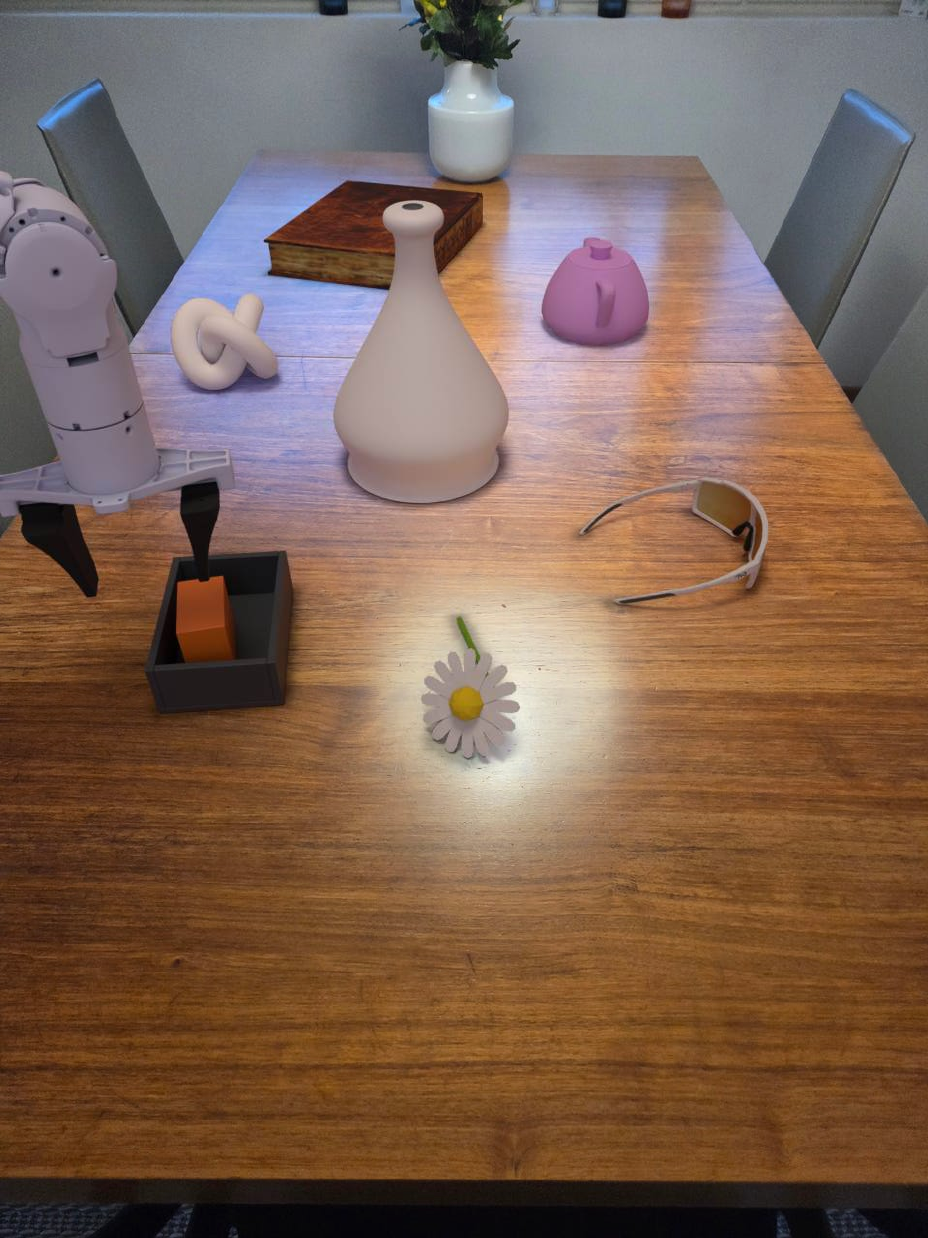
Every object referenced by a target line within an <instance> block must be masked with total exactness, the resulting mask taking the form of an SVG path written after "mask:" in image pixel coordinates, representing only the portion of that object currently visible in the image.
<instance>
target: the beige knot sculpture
mask: <svg viewBox="0 0 928 1238" xmlns="http://www.w3.org/2000/svg"><path fill="white" fill-rule="evenodd" d="M264 309H265V306H264V301H263V300H262V299H261V297H260V296H259V295H257V294H255V293H252V292H250V293H244V294H243V295H242V296H241V297H240V298H239V300H238V302H237V305H236V308H235V310H234V312H232V311H230V310H229V308H227V307H226V306H224V305H223V304H222V303H220V302H218V301H216V300H214V299H213V298H212V299H211V298H208V297H194V298H192V299H189V300H187V301H186V302H184V303H183V304H181V305H180V306H179V307H178V308H177V310H176V311H175V314H174V316H173V318H172V321H171V326H170V345H171V349H172V353H173V355H174V360H175V362H176V363H177V366H178V367H179V369H180V370H181V372H182V373H183V374H184V376H185V377H186V378H187V379H188V380H189V381H191V382H192V383H193V384H194V385H196V386H198V387H200V388H201V389H205V390H209V391H219V390H224V389H227V388H229V387H231V386H232V385H234V384H235V383H236V382H237V381H238V380H239V379H240V378H241V376H242V374H243V373H244V371H245V368H247V369H248V370H249V371H250V372H251V373H252V374H254V376H256V377H259V378H261V379H264V380H267V379H272V377H274V376H275V375H276V374H277V373H278V370H279V361H278V358H277V356H276V354H275V353H274V351H273V350H272V349H271V348H270V347H269V345H268V344H267V343H265V341H264V340H262V339H261V337H259V336H258V335H257V332H258V329H259V326H260V323H261V320H262V316H263V313H264Z"/></svg>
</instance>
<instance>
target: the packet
mask: <svg viewBox="0 0 928 1238" xmlns="http://www.w3.org/2000/svg"><path fill="white" fill-rule="evenodd" d="M176 635H177V638H178V641H179V644H180V648H181V651H182V654H183V657H184V660H185V663H196V662H211V661H226V660H236V640H235V621H234V617H233V613H232V609H231V605H230V601H229V597H228V593H227V589H226V585H225V581H224V577H223V576H218V577H211V578H210V580H209V581H205V582H199V579H196V580H189V581H182V582H178V584H177V617H176Z"/></svg>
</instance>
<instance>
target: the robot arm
mask: <svg viewBox="0 0 928 1238" xmlns="http://www.w3.org/2000/svg"><path fill="white" fill-rule="evenodd" d="M117 285H118V269H117V263H116V261H115V260H114V259H112V258H111V257H110V255H109V252H108V249H107V247H106V245H105V243H104V241H103V240H102V238H101V237H100V236H99V234H98V233H97V231H96V230H95V228H94V227H93V226H92V224H91V223H90V222H89V220H88V219H87V217H86V215H85V214H84V213H83V211H82V210H81V208H79V207H78V205H77V204H76V203H75V202H73V200H71V199H70V198H68V197H67V196H66V195H64V194H63V193H61V192H60V191H58V190H56V189H54V188H52V187H49V186H47V185H45V183H43V182H42V181H41V180H40V179H37V178H34V177H20V178H14V179H13V177H12V175H11V174H10V173H8V172H6V171H3V170H0V297H1V299H2V300H3V302H4V303H5V304H6V305H7V306H8V307H9V309H11V311H12V314H13V316H14V318H15V322H16V325H17V327H18V330H19V343H18V344H19V350H20V353H21V355H22V358H23V361H24V364H25V366H26V369H27V372H28V375H29V377H30V381H31V382H32V385H33V388H34V392H35V395H36V396H37V397H36V398H37V399H38V400H37V401H38V402H39V405H40V408H41V410H42V413H43V416H44V420H45V422H46V425H47V428H48V430H49V433H50V437H51V438H52V441H53V445H54V447H55V449H56V452H57V455H58V458H59V460H58V461H53V462H50V463H47V464H43V465H39V466H36V467H32V468H29V469H25V470H21V471H16V472H12V473H5V474H0V515H1V517H2V518H7V517H14V516H18V515H20V519H21V521H22V524H21V526H20V533H21V535H22V536H23V538H24V540H25V541H26V542H27V543H28V544H30V545H32V546H33V547H35V548H37V549H38V550H40V551H41V552H42V553H44V554H46V555H47V556H48V557H50V559H52V560H53V561H54V562H55V563H57V565H59V566H60V567H61V568H62V569H63V570H64V571H65V572H66V574H67V575H68V576H69V577H70V578H71V579H72V581H74V582H75V584H76V585H77V586H78V588H79V589H80V590H81V591H82V593H83V594H84V596H85V598H87V599H89V598H95V597H97V594H98V588H99V581H100V578H99V574H98V570H97V566H96V564H95V561H94V559H93V557H92V554H91V552H90V550H89V547H88V545H87V542H86V540H85V538H84V535H83V532H82V529H81V525H80V521H79V518H78V517H79V516H78V514H77V510H76V507H75V506H87V507H93V509H94V512H95V513H96V514H98V515H107V514H117V513H122V512H127V511H128V510H129V509H130V508H131V504H132V503H133V502H136V501H140V500H142V499H147V498H149V497H152V496H156V495H158V494H161V493H162V494H163V493H166V492H175V491H176V492H177V491H180V498H179V499H180V503H179V504H180V505H179V507H180V508H179V515H180V519H181V521H182V524H183V526H184V529H185V532H186V534H187V537H188V540H189V543H190V546H191V547H190V548H191V549H192V554H193V555H192V556H194V561H195V567H196V573H197V576H198V579H199V582H205V581H209V580H210V570H209V559H208V555H209V553H210V546H211V540H212V536H213V532H214V529H215V526H216V524H217V521H218V518H219V514H220V509H221V497H220V494H221V492H220V491H228V490H235V489H236V479H235V470H234V465H233V461H232V455H231V451H230V449H229V448H224V449H193V448H192V449H190V448H177V447H164V446H163V447H162V446H156V442H155V439H154V438H155V437H154V435H153V432H152V431H153V430H152V428H151V424H150V421H149V416H148V413H147V410H146V405H145V402H144V398H143V393H142V389H141V386H140V381H139V379H138V376H137V371H136V368H135V365H134V361H133V357H132V353H131V349H130V346H129V342H128V339H127V334H126V331H125V328H124V327H123V325H122V324H121V322H119V319H118V316H117V315H118V308H117V304H116V300H115V298H114V296H115V292H116V288H117Z"/></svg>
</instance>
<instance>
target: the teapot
mask: <svg viewBox="0 0 928 1238" xmlns="http://www.w3.org/2000/svg"><path fill="white" fill-rule="evenodd" d="M582 245H583V246H582V247H578V248H575V249H572V250H571V251H570V252H569V253H568V254H567V255H566V256H565V257H564V258H563V260H562V261H561V262H560V264H559V265H558V266H557V268H556V270H555V271H554V272H553V274H552V276H551V278H550V279H549V281H548V284H547V286H546V288H545V291H544V294H543V298H542V303H541V315H542V318H543V320H544V322H545V323H546V325H547V326H548V328H549V329H550V330H551V331H552V332H553V333H554V334H555V335H556V336H557V337H559V338H561V339H564V340H565V341H568V342H572V343H574V344H581V345H588V346H607V345H614V344H619V343H622V342H625V341H627V340H629V339H631V338H632V337H633V336H635V335H636V334H637V333H638V332H639V331H640V330H641V329H642V328H643V327H644V326H645V325H646V323H647V321H648V319H649V316H650V315H649V314H650V300H649V293H648V289H647V285H646V282H645V280H644V277H643V275H642V273H641V270H640V268H639V266H638V264H637V262H636V261H635V259H634V257H633V256H632V255H631V254H630V253H629V252H628V251H625V250H623V249H621V248H617V247H613V243H612V242H611V241H609V240H604V239H601V238H599V237H594V236H593V237H592V236H591V237H590V236H589V237H586V238H584V239H583V244H582Z"/></svg>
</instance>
